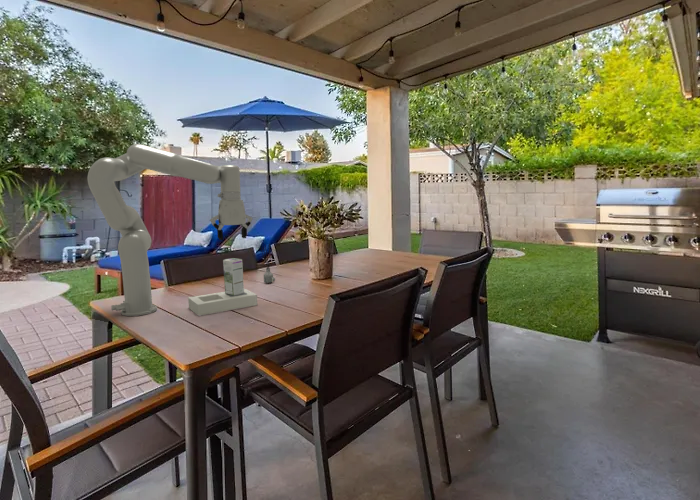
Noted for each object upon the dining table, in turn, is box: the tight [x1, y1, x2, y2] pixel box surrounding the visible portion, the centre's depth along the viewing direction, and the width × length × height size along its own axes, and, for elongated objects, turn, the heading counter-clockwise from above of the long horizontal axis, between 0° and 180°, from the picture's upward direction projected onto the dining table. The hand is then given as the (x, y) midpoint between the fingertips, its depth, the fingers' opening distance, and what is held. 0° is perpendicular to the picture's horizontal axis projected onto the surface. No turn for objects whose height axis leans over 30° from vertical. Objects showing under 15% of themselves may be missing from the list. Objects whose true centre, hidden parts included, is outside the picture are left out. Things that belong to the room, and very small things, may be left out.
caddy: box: [187, 288, 258, 317], centre depth 170 cm, size 24×13×5 cm, turn 126°
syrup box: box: [222, 257, 245, 295], centre depth 171 cm, size 6×6×14 cm
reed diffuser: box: [259, 243, 276, 283], centre depth 211 cm, size 10×7×20 cm
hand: (232, 238), depth 169 cm, fingers open, 9 cm apart
